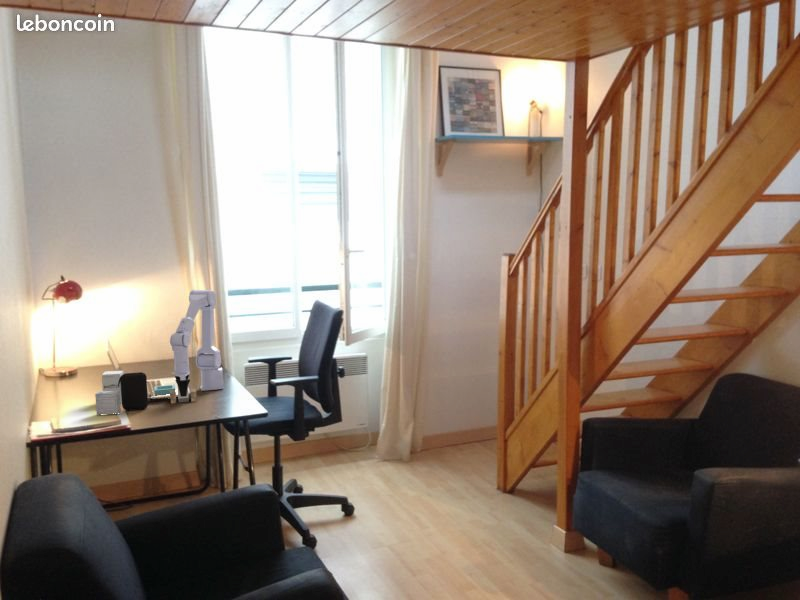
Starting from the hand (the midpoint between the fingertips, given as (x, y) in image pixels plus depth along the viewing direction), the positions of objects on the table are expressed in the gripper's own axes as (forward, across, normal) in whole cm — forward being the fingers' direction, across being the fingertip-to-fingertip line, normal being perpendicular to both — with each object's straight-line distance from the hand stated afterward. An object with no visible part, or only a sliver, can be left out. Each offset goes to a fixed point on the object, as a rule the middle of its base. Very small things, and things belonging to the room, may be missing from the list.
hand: (183, 394), depth 300 cm
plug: (+3, 0, 0) cm, 3 cm away
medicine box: (+3, +11, -28) cm, 30 cm away
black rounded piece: (+3, +8, -19) cm, 21 cm away
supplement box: (+3, -9, -27) cm, 29 cm away
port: (+3, -13, -7) cm, 15 cm away
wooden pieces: (+3, 0, 0) cm, 3 cm away
